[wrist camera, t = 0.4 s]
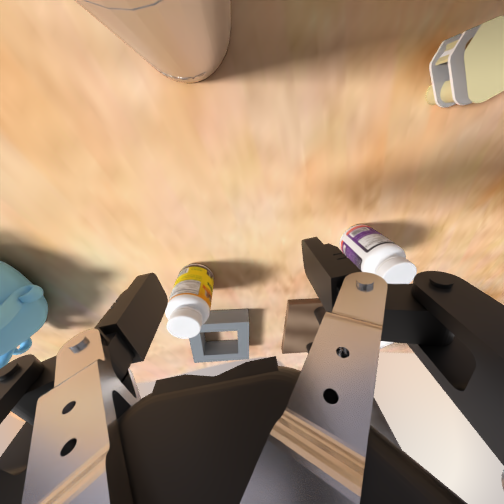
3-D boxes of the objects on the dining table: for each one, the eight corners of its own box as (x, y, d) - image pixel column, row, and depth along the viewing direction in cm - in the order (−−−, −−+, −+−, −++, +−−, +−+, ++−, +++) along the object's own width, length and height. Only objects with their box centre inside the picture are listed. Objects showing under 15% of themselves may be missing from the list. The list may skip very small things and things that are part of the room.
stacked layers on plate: (505, -6, 20) (592, -51, 15) (485, 102, 24) (547, 94, 19) (400, 40, 21) (450, 12, 16) (399, 135, 25) (438, 136, 20)
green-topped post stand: (266, 298, 36) (340, 675, 11) (326, 296, 37) (525, 641, 12) (262, 351, 44) (302, 647, 19) (313, 347, 45) (417, 627, 19)
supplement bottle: (212, 291, 35) (205, 344, 26) (178, 287, 34) (159, 342, 25) (216, 264, 32) (209, 313, 23) (179, 259, 31) (158, 309, 22)
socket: (189, 311, 37) (186, 325, 34) (247, 308, 37) (249, 321, 35) (196, 348, 42) (194, 362, 39) (247, 345, 43) (248, 359, 40)
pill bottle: (360, 257, 34) (403, 298, 25) (332, 250, 32) (366, 290, 24) (379, 228, 31) (434, 262, 23) (349, 219, 30) (395, 252, 22)
